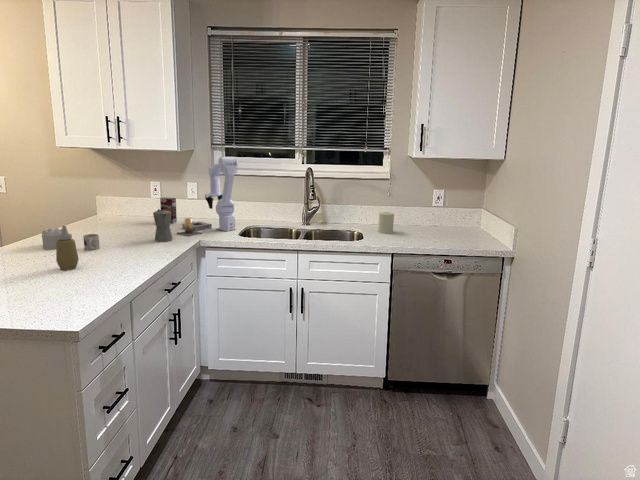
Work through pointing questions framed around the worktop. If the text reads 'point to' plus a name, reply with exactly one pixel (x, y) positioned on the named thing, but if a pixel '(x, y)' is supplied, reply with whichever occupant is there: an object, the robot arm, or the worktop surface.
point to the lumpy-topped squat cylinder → (50, 238)
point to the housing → (200, 226)
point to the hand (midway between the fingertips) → (215, 207)
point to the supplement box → (169, 207)
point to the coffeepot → (162, 225)
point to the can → (386, 222)
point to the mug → (91, 242)
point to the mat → (189, 233)
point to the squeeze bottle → (66, 251)
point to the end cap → (188, 225)
